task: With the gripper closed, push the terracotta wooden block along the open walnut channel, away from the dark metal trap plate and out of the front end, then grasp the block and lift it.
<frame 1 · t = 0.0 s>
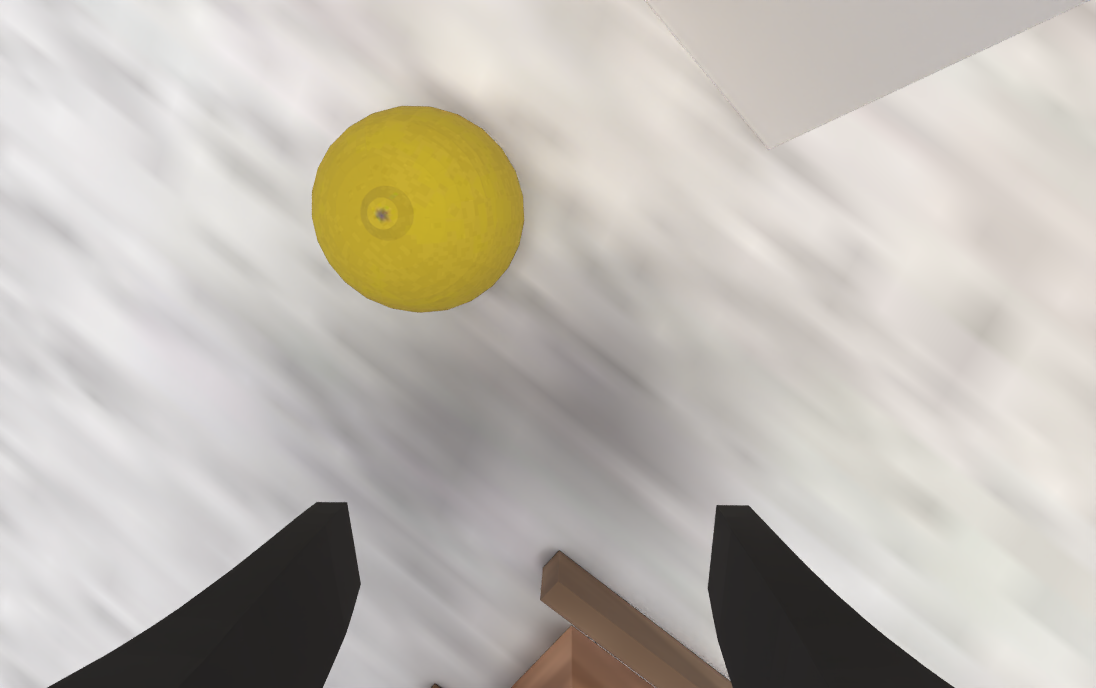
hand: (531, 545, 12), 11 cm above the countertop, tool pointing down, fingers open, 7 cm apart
lemon: (453, 212, 21), on the countertop
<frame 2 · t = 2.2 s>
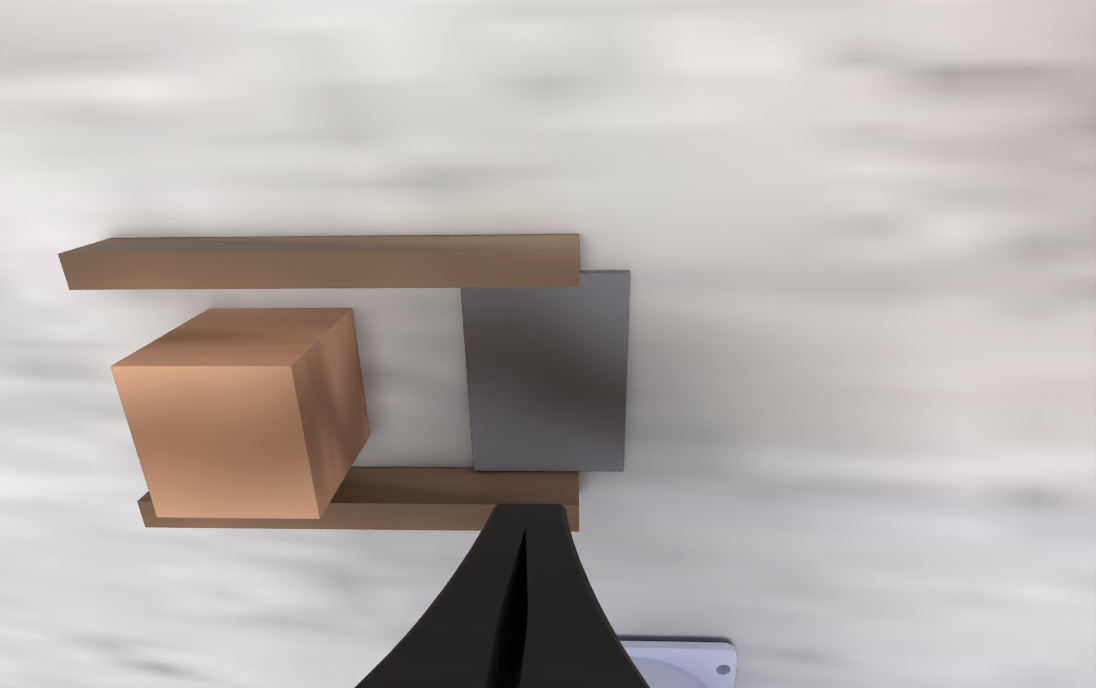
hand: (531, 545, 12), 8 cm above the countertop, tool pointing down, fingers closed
block: (293, 373, 20), on the countertop
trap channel: (360, 374, 20), on the countertop
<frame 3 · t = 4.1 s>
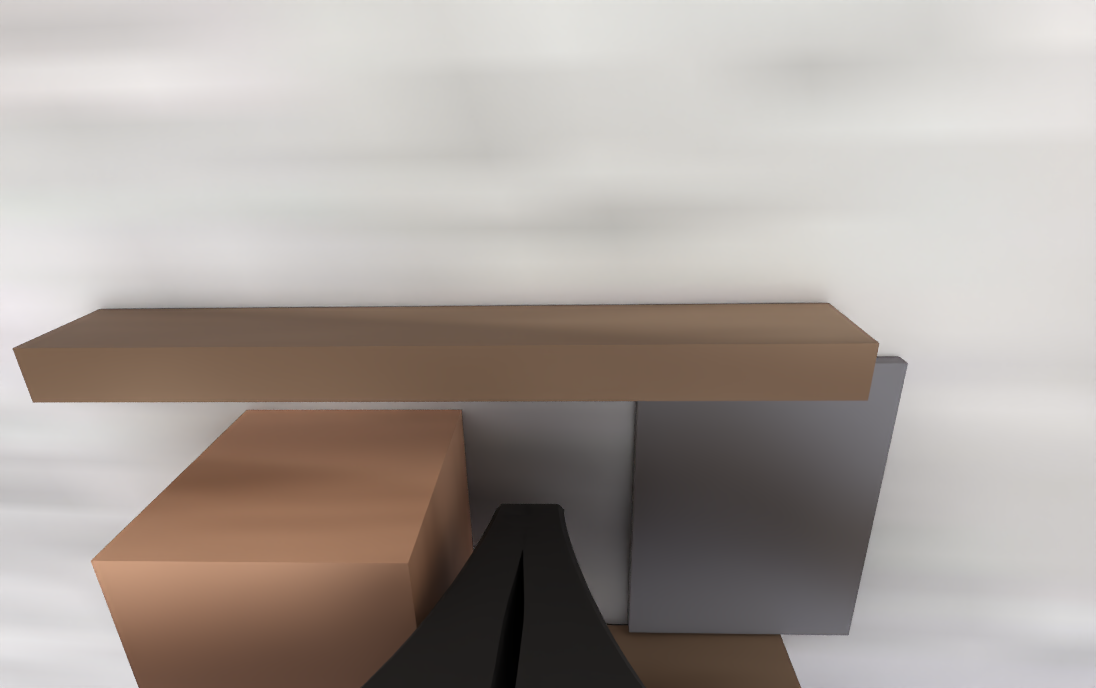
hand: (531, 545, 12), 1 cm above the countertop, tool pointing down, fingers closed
block: (368, 499, 14), on the countertop, touching gripper
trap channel: (471, 502, 13), on the countertop
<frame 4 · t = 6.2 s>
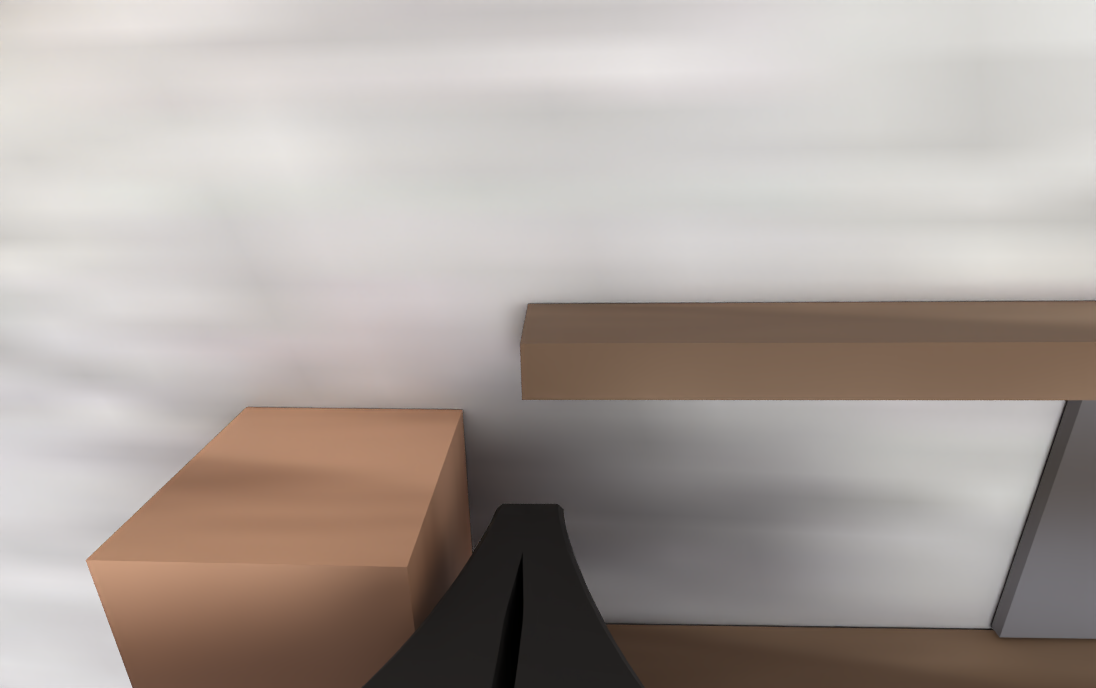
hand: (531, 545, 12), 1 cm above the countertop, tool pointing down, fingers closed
block: (366, 499, 13), on the countertop, touching gripper
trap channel: (863, 503, 13), on the countertop
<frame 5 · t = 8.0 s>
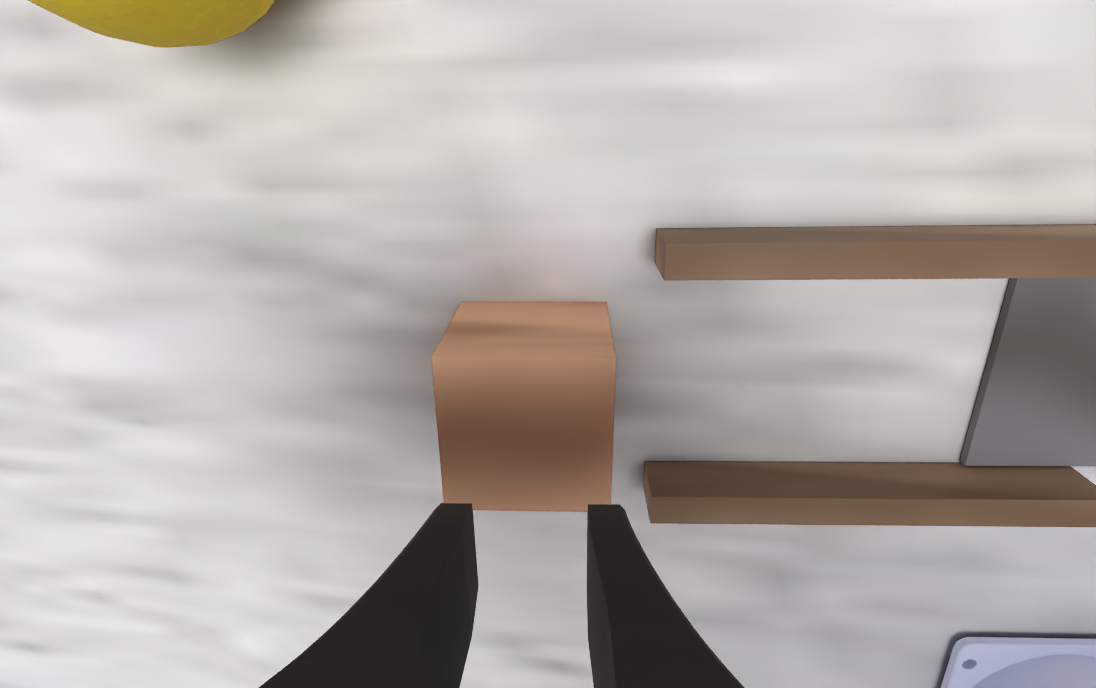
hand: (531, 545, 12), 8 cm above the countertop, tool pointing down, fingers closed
block: (534, 366, 20), on the countertop
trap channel: (871, 368, 19), on the countertop
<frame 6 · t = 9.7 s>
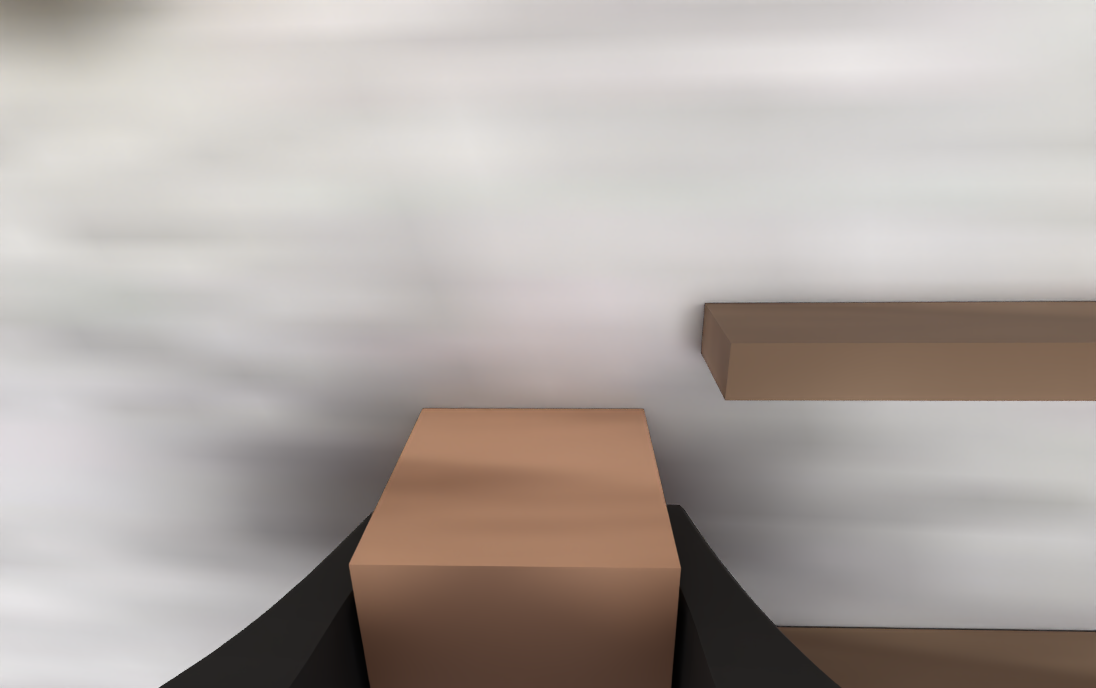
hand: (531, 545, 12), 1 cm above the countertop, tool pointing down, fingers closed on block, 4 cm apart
block: (535, 500, 13), on the countertop, touching gripper
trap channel: (1023, 505, 13), on the countertop
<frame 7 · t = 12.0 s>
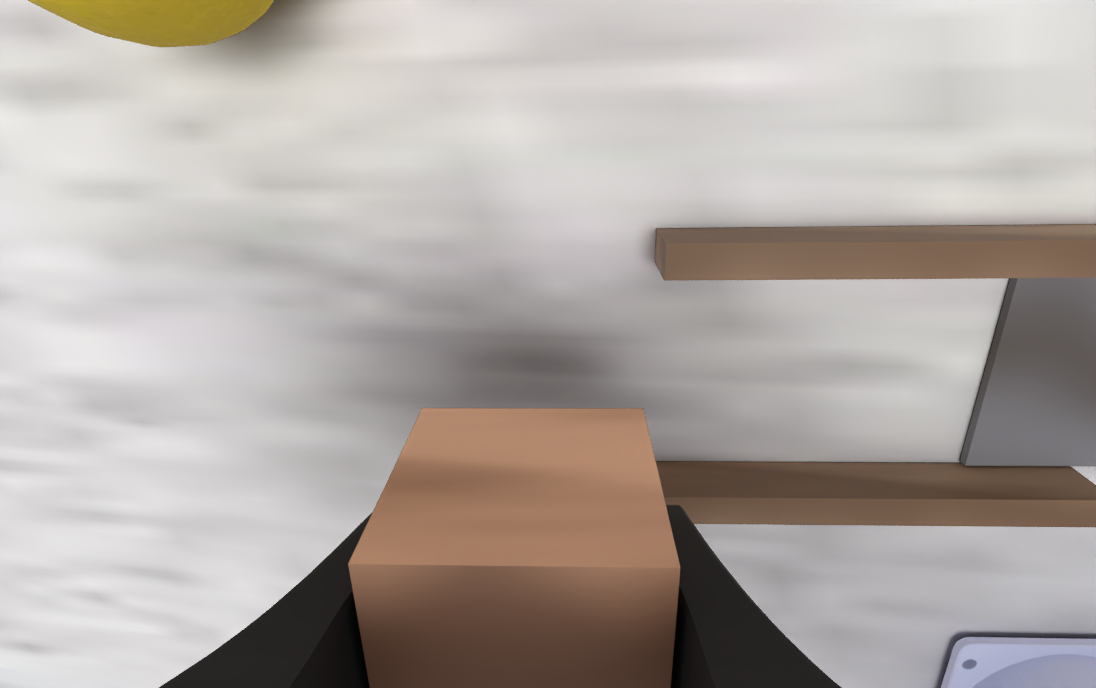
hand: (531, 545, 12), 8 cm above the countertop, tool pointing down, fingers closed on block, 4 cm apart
block: (534, 500, 13), point 7 cm above the countertop, touching gripper
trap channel: (871, 368, 19), on the countertop
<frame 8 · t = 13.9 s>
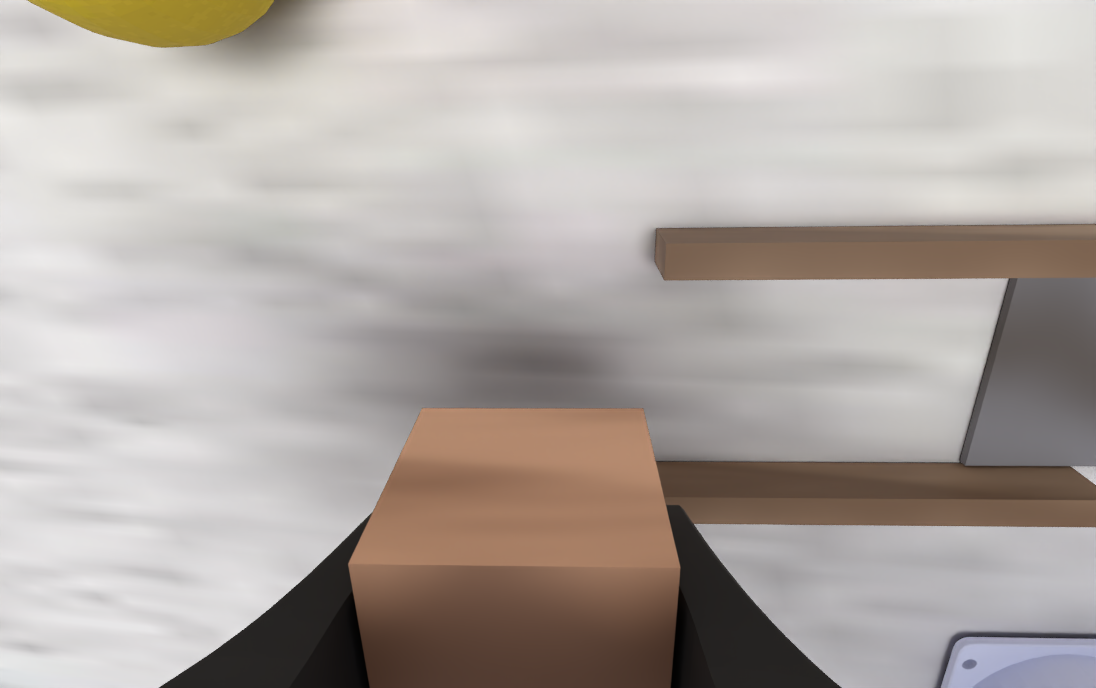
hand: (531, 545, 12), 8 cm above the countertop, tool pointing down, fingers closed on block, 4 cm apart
block: (534, 500, 13), point 7 cm above the countertop, touching gripper
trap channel: (871, 368, 19), on the countertop
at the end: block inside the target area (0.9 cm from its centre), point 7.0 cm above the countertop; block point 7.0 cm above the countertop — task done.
